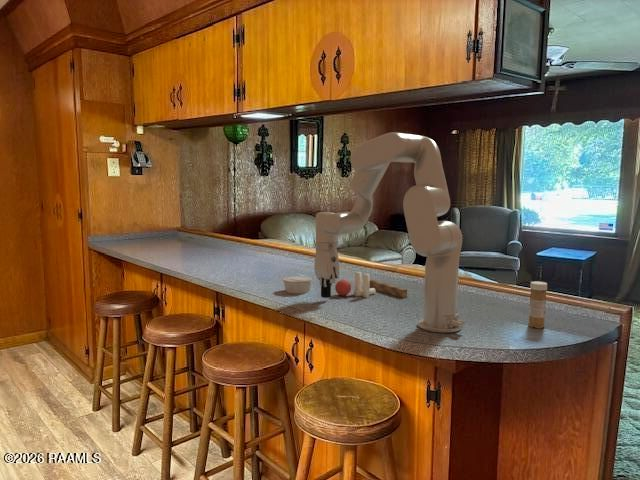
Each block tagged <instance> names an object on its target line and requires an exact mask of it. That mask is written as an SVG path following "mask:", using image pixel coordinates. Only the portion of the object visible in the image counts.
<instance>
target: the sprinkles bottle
mask: <svg viewBox="0 0 640 480" xmlns="http://www.w3.org/2000/svg"><path fill="white" fill-rule="evenodd" d="M529 288H530V296H529V297H530V298H529V299H530V300H529V306H528V307H529V309H528V311H529V312H528V315H529V317H528V326H529V327H530V328H533V327H535V328H534V329H544V328H545V320H546V319H545V317H546V306H547V292H548V283H547V282H545V281H538V280H537V281H530V287H529ZM543 327H544V328H543Z"/></svg>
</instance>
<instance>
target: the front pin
mask: <svg viewBox="0 0 640 480" xmlns="http://www.w3.org/2000/svg"><path fill="white" fill-rule="evenodd" d="M376 292H377V290H375V288H369V296H371V295H376V294H377V293H376ZM353 295H354V297H355V298H357V297H363V288H361V290H355V289H354V291H353Z"/></svg>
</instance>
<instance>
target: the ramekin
mask: <svg viewBox="0 0 640 480" xmlns="http://www.w3.org/2000/svg"><path fill="white" fill-rule="evenodd" d="M312 281H313V278H312V277H311V276H306V275H292V276H291V275H290V276H286V277H284V278H283V285H284V289H285V291H286V293H288V294H292V295H300V294H301V295H302V294H303V295H304V294H307V293H309V292H310V291H311V286H312Z"/></svg>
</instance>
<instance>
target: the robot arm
mask: <svg viewBox="0 0 640 480" xmlns="http://www.w3.org/2000/svg"><path fill="white" fill-rule="evenodd" d="M391 163H414V168H413V175H414V177H413V178H414V180H415V184H416V185H412V186H411V187H409V189H408V190H407V191H406V192H405V194H404V197H403V202H402V204H403V205H402V206H403V208H402V209H403V214H404V218H405V223H406V224H405V225H406V228H407V229H406V230H407V233H408V237H409V241H410V244H411V247H412V249H413V251H414V252H416V254H417V255H419V256H422V257H426V261H425V265H424V289H423V292H424V293H423V318H420V319H418V321H417V326H418V327H419V328H421V329H422V330H424V331H429V332H433V333H445V334H447V333H455V332H458V331H461V330H462V329H463V328H464V326H465V325H466V321H465V320H461V319H460V313H457V309H458V290H459V289H458V286H459V285H458V284H459V268H460V267H459V265H460V256H461V251H462V246H463V234H462V231H461V229H460V227H459V226H458V225H457V224H456V223H454V222H453V221H449V220H438V217H441V216H443V215H445V214H447V213H448V212H449V210H450V208H451V198H450V194H449V189H448V184H447V180H446V176H445V171H444V166H443V162H442V155H441V151H440V148H439V146H438V145H437V143H436V142H435V141H434V140H433V139H432V138H430V137H428V136H424V135H419V134H412V133H403V132H397V131H396V132H395V131H394V132H391V131H390V132H388V133H384V134H381V135H379V136H376V137H374V138H371V139H369V140H366V141H364V142H361V143H359V144H358V145H357V146H356V147H354V149H353V150H352V152H351V154H350V164H351V166H352V168H354V170H355V172H354V174H353V176H352V178H351V180H350V181H349V187H350V189H351V191H353V193H354V194H355V195H357V198H356V201H355V204H354V206H353V208H352V209H351V211H344V212H332V211H320V212H317V213H316V214H315V255H314V275H315V276H316V279H317V280H319V285H320V297H321V298H323V299H327V298H331V296H332V291H331V290H332V286H333V284H335V283H337V281H336V279H339V278H340V262H339V261H340V260H339V253H338V249H337V248H338V247H337V246H338V245H337V244H338V243H337V240H338V238H337V237H338V236H339V235H349V234H356V233H358V232H360V231H361V230H362V229H363V228H364V226H366V224H367V222H368V220H369V219H370V217H371V215H372V211H373V207H374V205H373V204H374V197H373V196H374V193H375V192H376V189H377V188H378V186H379V184H380V182H381V180H382V178H383V177H384V175H385V173H386V171H387V169H388V167H389V166H390V164H391Z"/></svg>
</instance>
